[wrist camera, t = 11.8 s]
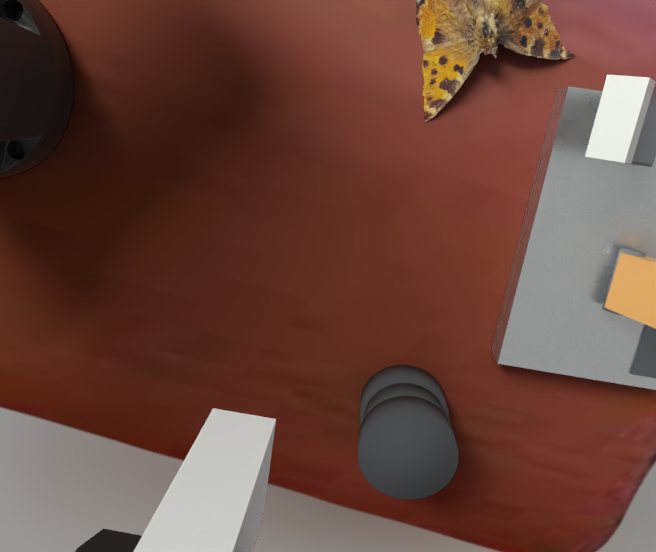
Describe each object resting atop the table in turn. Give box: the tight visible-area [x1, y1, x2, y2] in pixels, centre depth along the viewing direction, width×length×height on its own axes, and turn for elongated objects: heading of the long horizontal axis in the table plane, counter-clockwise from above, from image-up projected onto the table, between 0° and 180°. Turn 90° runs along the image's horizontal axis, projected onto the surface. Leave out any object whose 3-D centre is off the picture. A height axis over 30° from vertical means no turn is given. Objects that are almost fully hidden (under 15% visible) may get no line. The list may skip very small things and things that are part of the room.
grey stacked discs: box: [358, 365, 459, 500], centre depth 42 cm, size 7×7×8 cm
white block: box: [585, 75, 656, 167], centre depth 32 cm, size 2×4×10 cm
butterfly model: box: [416, 0, 575, 122], centre depth 37 cm, size 9×12×3 cm
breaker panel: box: [491, 86, 656, 390], centre depth 40 cm, size 12×20×3 cm, turn 172°
